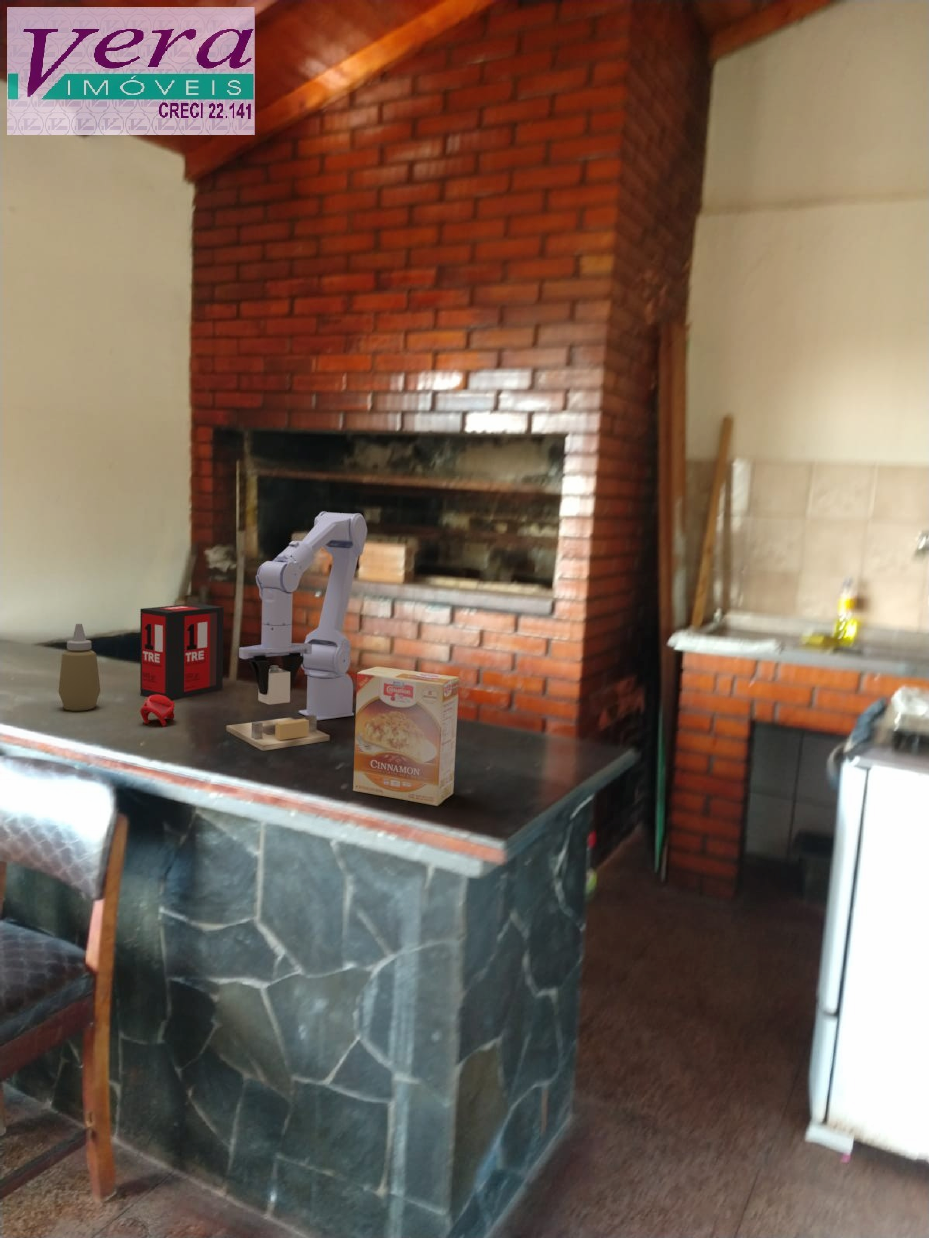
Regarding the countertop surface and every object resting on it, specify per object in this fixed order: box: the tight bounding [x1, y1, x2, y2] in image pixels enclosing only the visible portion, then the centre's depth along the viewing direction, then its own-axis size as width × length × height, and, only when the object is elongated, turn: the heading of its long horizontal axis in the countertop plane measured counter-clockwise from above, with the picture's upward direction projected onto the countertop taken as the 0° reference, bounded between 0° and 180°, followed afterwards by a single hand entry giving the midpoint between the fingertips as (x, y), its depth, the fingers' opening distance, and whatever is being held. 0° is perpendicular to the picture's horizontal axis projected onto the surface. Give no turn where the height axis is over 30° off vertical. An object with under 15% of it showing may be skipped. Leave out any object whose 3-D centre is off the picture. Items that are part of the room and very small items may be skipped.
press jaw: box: [275, 718, 309, 740], centre depth 161 cm, size 6×2×3 cm, turn 129°
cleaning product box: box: [139, 603, 225, 702], centre depth 197 cm, size 16×9×20 cm, turn 150°
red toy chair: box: [139, 695, 175, 727], centre depth 171 cm, size 8×6×6 cm
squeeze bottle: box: [58, 623, 101, 712], centre depth 179 cm, size 8×8×18 cm
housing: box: [257, 665, 291, 705], centre depth 166 cm, size 4×4×7 cm
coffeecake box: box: [352, 666, 460, 807], centre depth 136 cm, size 15×7×20 cm, turn 69°
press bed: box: [225, 714, 330, 752], centre depth 166 cm, size 14×16×4 cm
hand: (275, 692), depth 166 cm, fingers closed on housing, 4 cm apart
